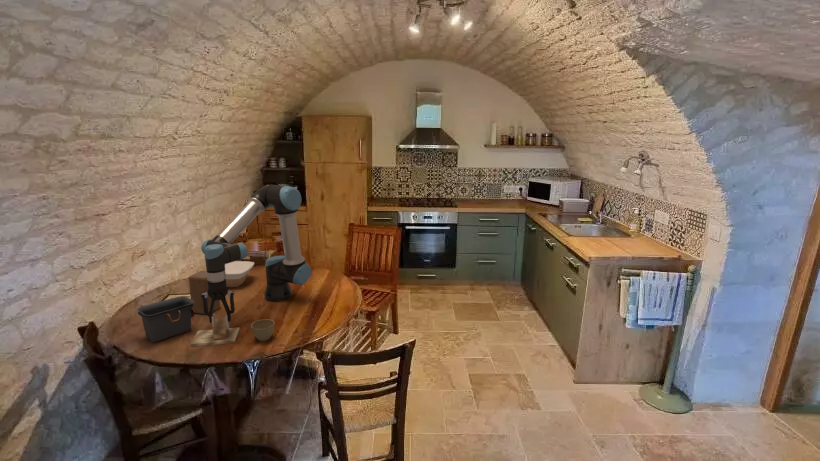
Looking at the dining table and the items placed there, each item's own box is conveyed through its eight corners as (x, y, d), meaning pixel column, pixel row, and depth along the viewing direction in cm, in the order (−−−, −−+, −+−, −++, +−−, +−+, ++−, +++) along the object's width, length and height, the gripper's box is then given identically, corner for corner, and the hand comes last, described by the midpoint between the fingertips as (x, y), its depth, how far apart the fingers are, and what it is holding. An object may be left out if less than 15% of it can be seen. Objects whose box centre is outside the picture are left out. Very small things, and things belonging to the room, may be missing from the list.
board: (239, 329, 204) (239, 327, 203) (235, 342, 191) (234, 340, 191) (198, 332, 200) (198, 330, 199) (191, 346, 187) (190, 344, 187)
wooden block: (208, 315, 218) (205, 278, 213) (191, 313, 220) (187, 276, 215) (221, 307, 228) (217, 271, 223) (204, 305, 230) (200, 270, 225)
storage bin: (186, 321, 211) (183, 294, 207) (201, 331, 202) (198, 302, 198) (138, 337, 194) (133, 308, 191) (153, 348, 185) (148, 317, 182)
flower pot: (255, 333, 200) (254, 319, 198) (277, 333, 201) (276, 318, 199) (249, 344, 190) (248, 329, 189) (272, 343, 191) (271, 328, 190)
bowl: (244, 291, 250) (243, 274, 248) (202, 290, 251) (200, 273, 248) (258, 277, 274) (257, 261, 271) (220, 276, 274) (218, 260, 271)
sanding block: (229, 330, 200) (228, 317, 199) (225, 339, 192) (224, 325, 190) (217, 331, 199) (216, 318, 198) (213, 340, 191) (212, 326, 189)
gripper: (239, 275, 195) (243, 323, 200) (196, 278, 191) (201, 326, 196) (237, 281, 188) (241, 330, 193) (192, 283, 184) (197, 333, 189)
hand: (221, 328), depth 195 cm, fingers closed on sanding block, 5 cm apart
